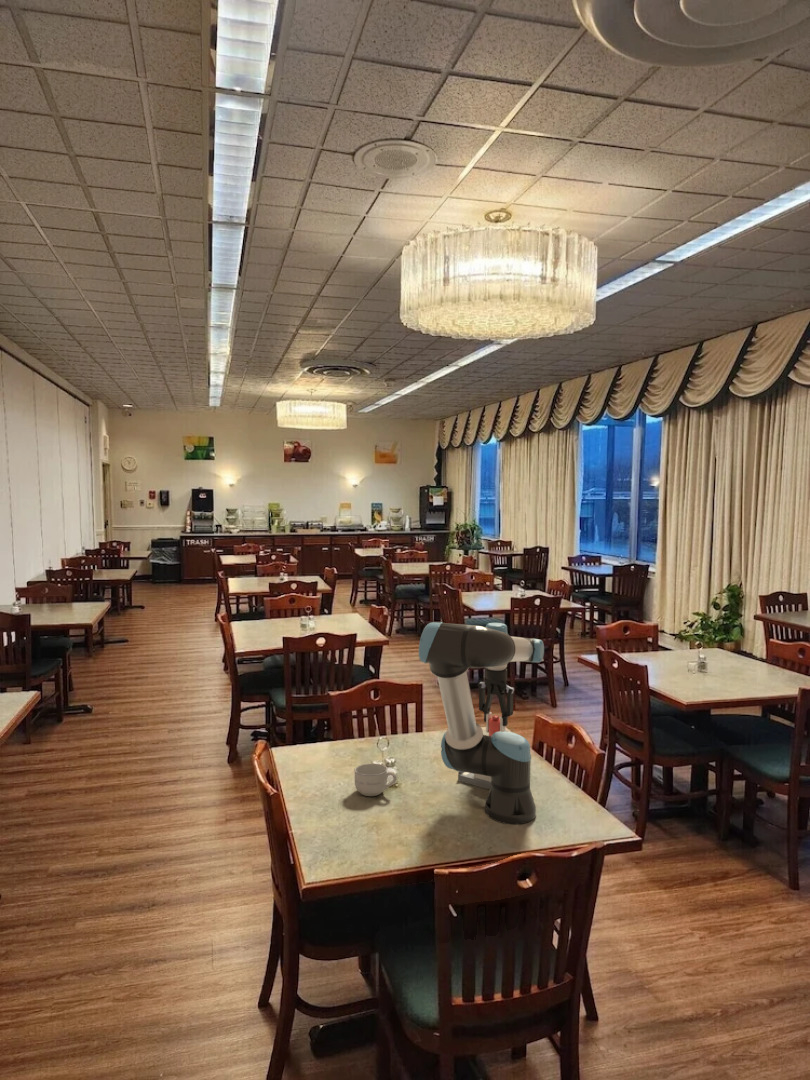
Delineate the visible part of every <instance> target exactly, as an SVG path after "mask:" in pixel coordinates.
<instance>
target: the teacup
mask: <svg viewBox="0 0 810 1080" xmlns="http://www.w3.org/2000/svg"><path fill="white" fill-rule="evenodd" d="M353 772H354V786H355V789H356V791H358V792H359V793H360V794H361V795H362V796H366V797H375V796H376V797H377V796H379V795H381V794H382V793H383V792H384V791H385V790H387V789H389V787H392V786H393V785H394V784H395V783H396V782H397V779H398V778H397V775H396V774H397V773H395V772H393V770H392V771H391V770H390V771H388V767H387V766H386V765H384V764H380V763H374V762H372V763H363V764H360V765H357V766H355V768H354V770H353ZM389 776H392V777H393V780H392V781H390V782H389V783H388V778H389Z"/></svg>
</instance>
